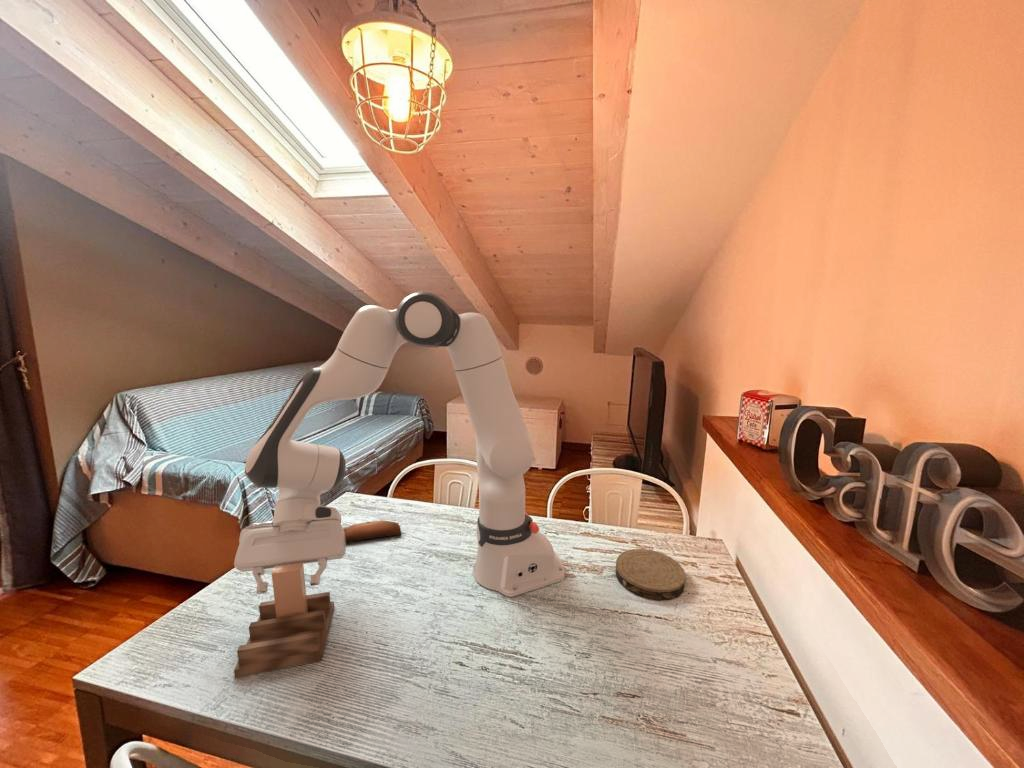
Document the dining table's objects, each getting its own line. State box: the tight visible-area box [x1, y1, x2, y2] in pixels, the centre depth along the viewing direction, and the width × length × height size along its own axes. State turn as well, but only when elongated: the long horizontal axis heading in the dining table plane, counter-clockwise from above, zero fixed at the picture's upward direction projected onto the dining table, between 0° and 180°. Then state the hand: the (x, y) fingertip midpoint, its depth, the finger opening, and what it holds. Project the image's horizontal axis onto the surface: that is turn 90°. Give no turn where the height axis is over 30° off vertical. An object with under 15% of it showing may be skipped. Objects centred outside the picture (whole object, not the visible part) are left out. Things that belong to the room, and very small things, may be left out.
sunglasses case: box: [343, 520, 402, 544], centre depth 116 cm, size 18×7×7 cm
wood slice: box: [615, 548, 687, 602], centre depth 98 cm, size 16×16×3 cm
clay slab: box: [271, 562, 308, 618], centre depth 80 cm, size 5×2×12 cm, turn 105°
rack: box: [233, 591, 335, 678], centre depth 79 cm, size 14×14×4 cm
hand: (288, 588), depth 80 cm, fingers open, 8 cm apart
